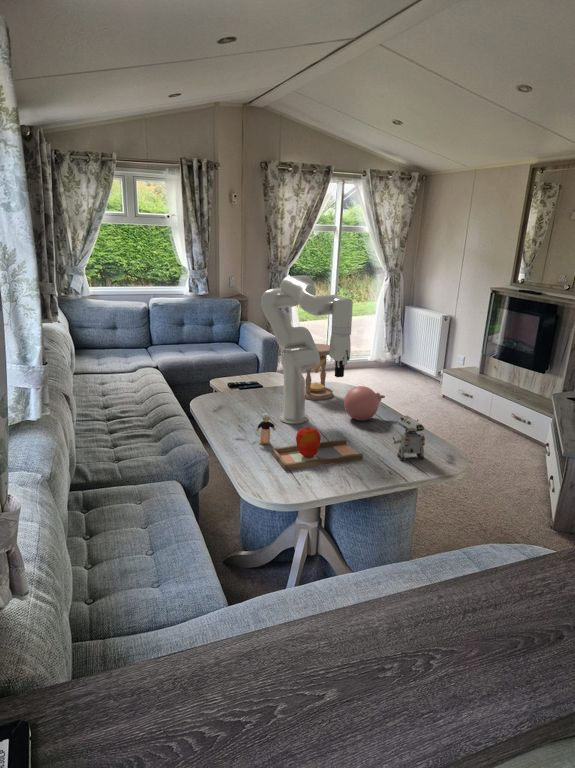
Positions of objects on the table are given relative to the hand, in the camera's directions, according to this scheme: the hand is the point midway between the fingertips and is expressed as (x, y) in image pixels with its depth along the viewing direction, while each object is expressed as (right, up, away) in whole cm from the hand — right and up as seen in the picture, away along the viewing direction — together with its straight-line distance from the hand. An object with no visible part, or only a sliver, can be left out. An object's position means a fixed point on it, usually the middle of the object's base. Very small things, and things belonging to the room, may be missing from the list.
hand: (339, 376), depth 208 cm
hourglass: (-6, -9, +65) cm, 66 cm away
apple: (-12, -30, -9) cm, 34 cm away
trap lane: (-9, -30, -7) cm, 32 cm away
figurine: (+26, -31, -5) cm, 40 cm away
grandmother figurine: (-29, -27, +4) cm, 40 cm away
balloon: (+15, -19, +33) cm, 40 cm away
